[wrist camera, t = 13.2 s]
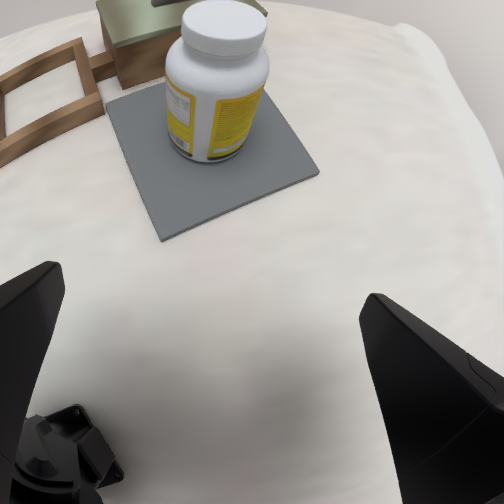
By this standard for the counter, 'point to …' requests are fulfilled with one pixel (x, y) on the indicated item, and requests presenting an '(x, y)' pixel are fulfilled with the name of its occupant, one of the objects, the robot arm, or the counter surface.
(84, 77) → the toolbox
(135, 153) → the slate mat
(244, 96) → the pill bottle
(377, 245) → the counter surface
